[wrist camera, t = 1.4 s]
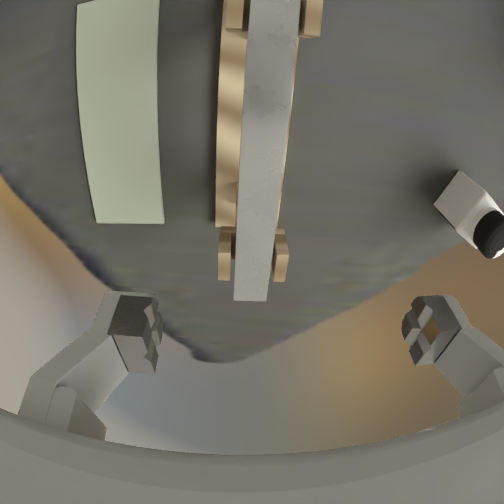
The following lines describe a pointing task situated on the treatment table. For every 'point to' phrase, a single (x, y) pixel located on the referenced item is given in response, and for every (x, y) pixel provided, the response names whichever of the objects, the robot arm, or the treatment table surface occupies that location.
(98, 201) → the sage mat
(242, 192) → the aluminium rail
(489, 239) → the medicine bottle
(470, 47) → the treatment table surface
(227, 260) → the hook rack
